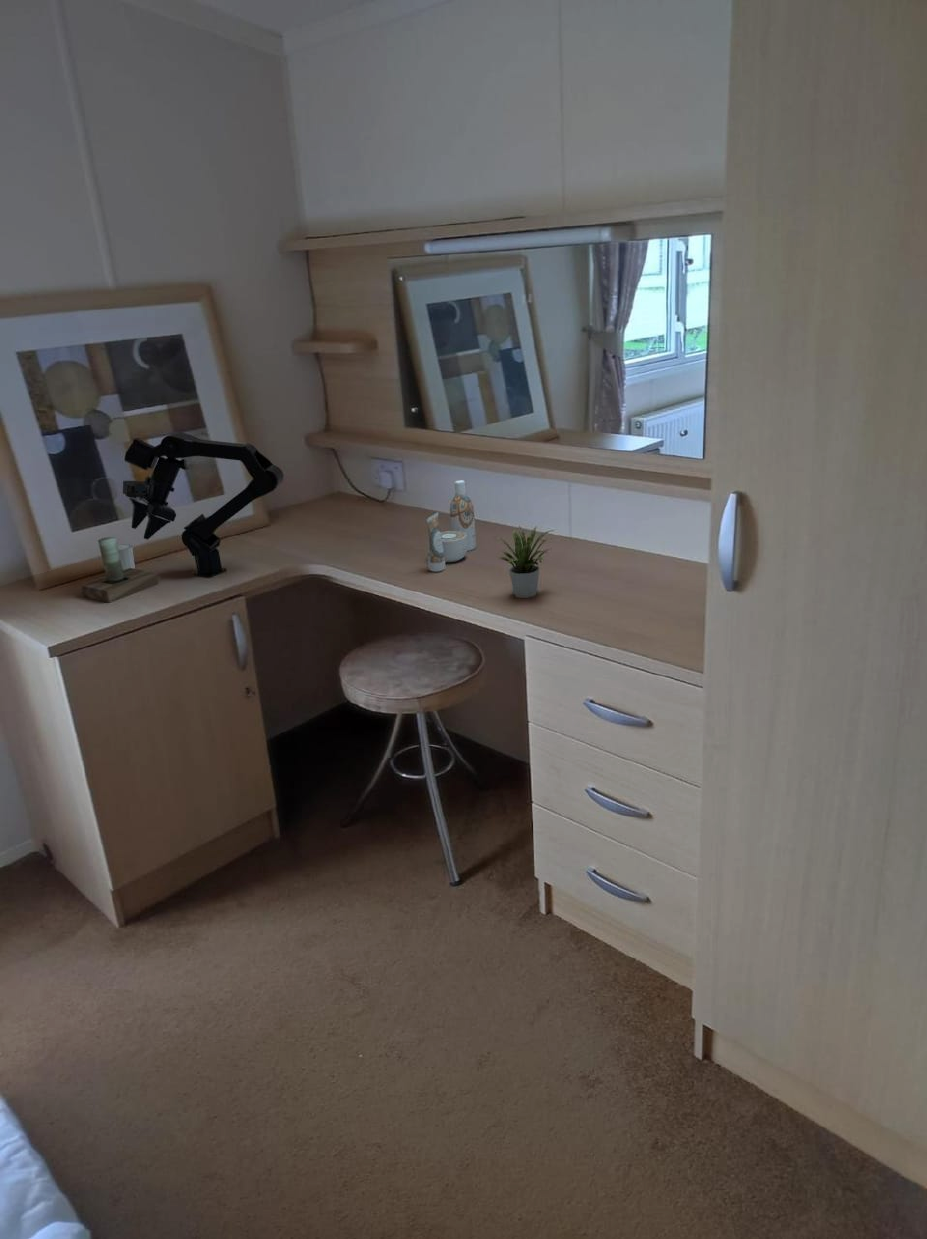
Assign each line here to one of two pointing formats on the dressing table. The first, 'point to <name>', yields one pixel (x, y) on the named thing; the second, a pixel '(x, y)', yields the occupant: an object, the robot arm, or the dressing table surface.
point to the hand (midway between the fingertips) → (139, 533)
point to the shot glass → (126, 556)
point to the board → (120, 585)
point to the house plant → (524, 564)
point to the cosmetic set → (452, 532)
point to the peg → (111, 560)
